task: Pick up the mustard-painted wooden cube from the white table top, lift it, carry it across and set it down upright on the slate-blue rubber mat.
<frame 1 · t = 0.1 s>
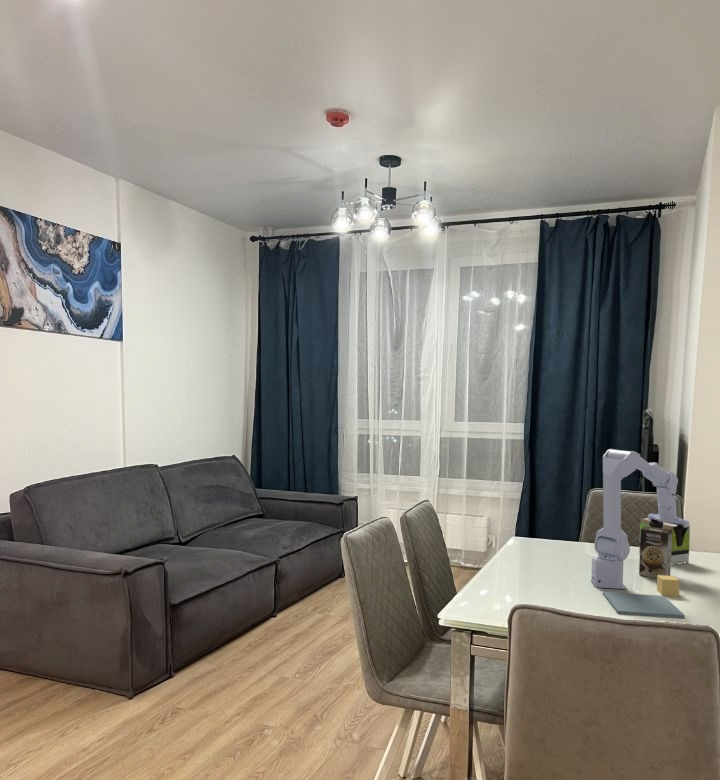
hand: (669, 543, 233), 11 cm above the table, tool pointing down, fingers open, 7 cm apart
slate mat: (641, 605, 196), on the table
coffee box: (654, 576, 229), on the table
mustard cube: (667, 593, 209), on the table
tea box: (663, 560, 253), on the table
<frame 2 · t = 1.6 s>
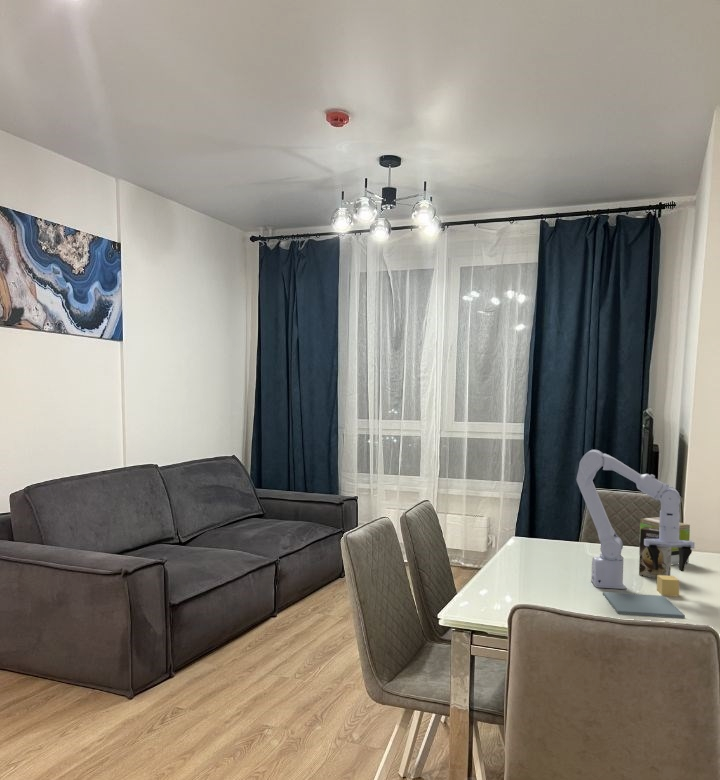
hand: (668, 569, 209), 7 cm above the table, tool pointing down, fingers open, 7 cm apart
nothing on the table moved.
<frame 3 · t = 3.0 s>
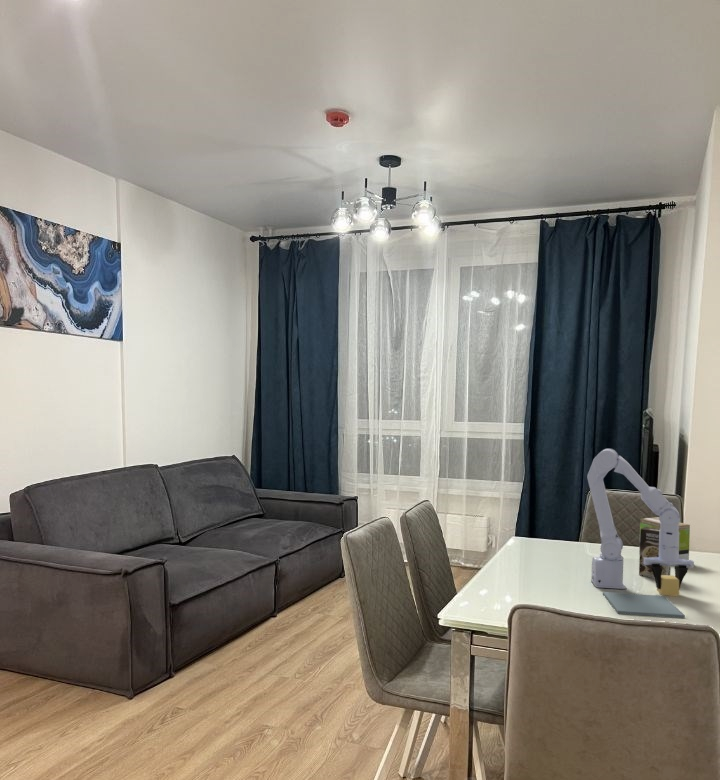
hand: (667, 588, 209), 1 cm above the table, tool pointing down, fingers closed on mustard cube, 5 cm apart
mustard cube: (667, 593, 209), on the table, touching gripper
everything else where it was.
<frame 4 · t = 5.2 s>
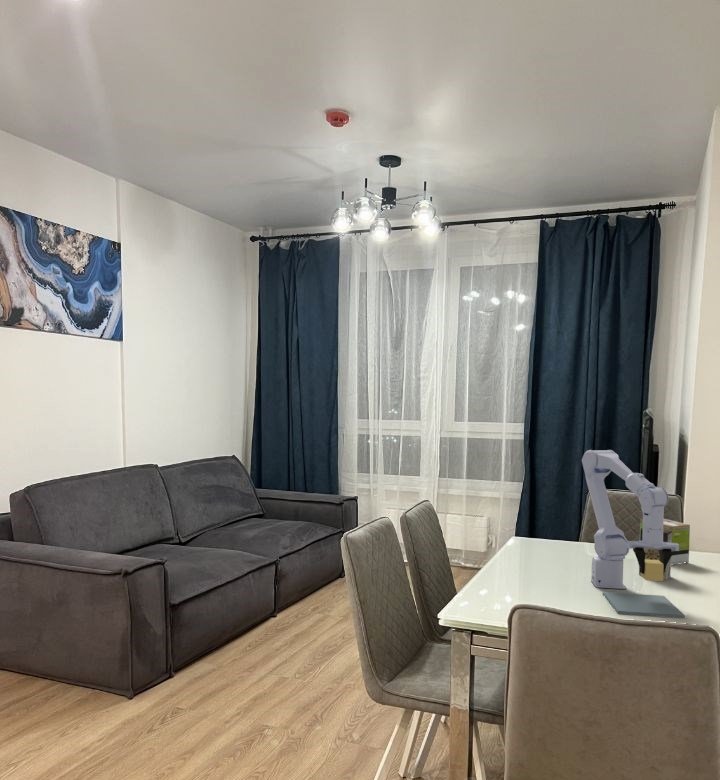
hand: (651, 573, 200), 8 cm above the table, tool pointing down, fingers closed on mustard cube, 5 cm apart
mustard cube: (651, 578, 200), point 7 cm above the table, touching gripper
everything else where it was.
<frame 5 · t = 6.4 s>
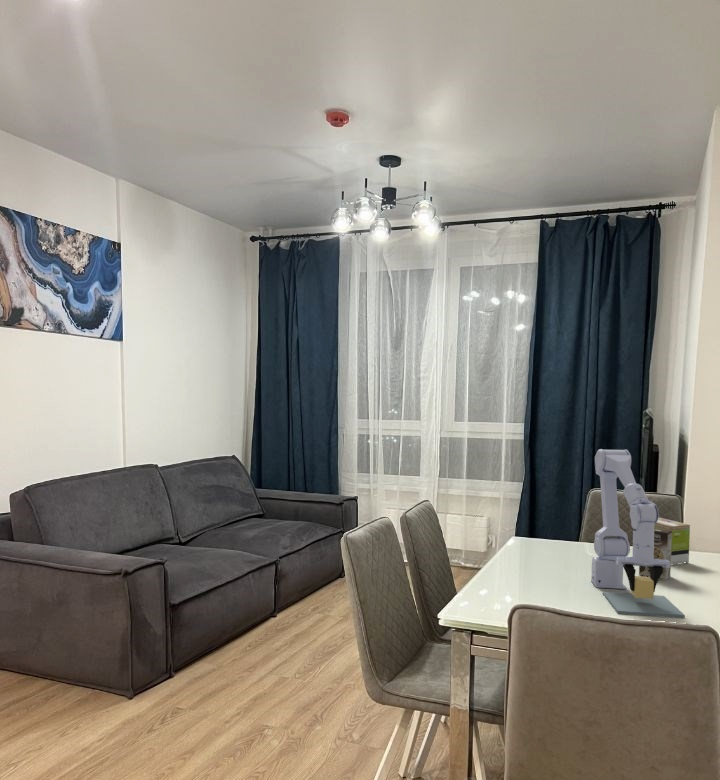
hand: (642, 590, 196), 4 cm above the table, tool pointing down, fingers closed on mustard cube, 5 cm apart
mustard cube: (642, 595, 196), point 3 cm above the table, touching gripper
everything else where it was.
when the fingers open (3 cm above the table, at t = 7.5 s): mustard cube drops 1 cm, resting on slate mat.
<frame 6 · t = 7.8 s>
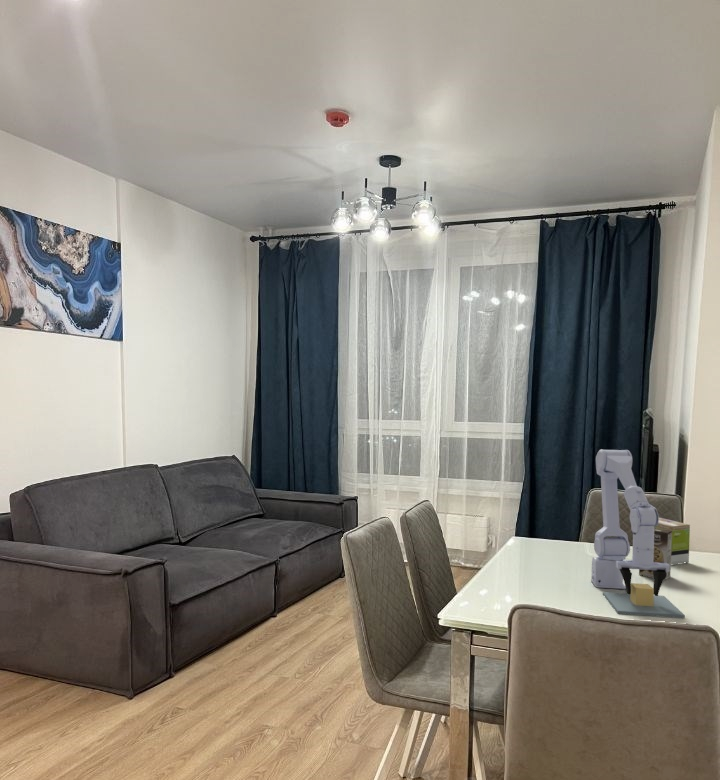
hand: (642, 594, 196), 3 cm above the table, tool pointing down, fingers open, 7 cm apart
mustard cube: (641, 603, 196), point 1 cm above the table, touching slate mat
everything else where it was.
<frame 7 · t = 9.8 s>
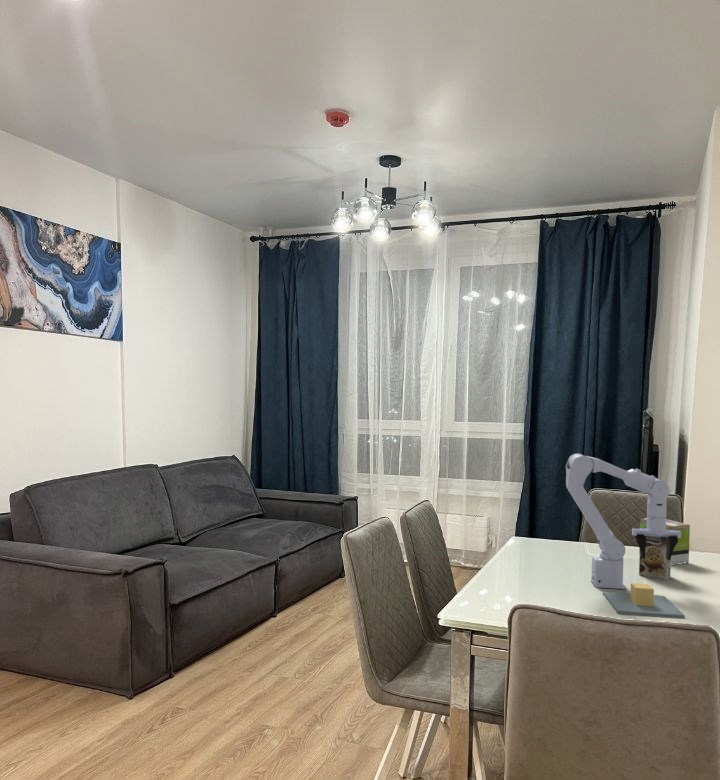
hand: (655, 558, 214), 9 cm above the table, tool pointing down, fingers open, 7 cm apart
nothing on the table moved.
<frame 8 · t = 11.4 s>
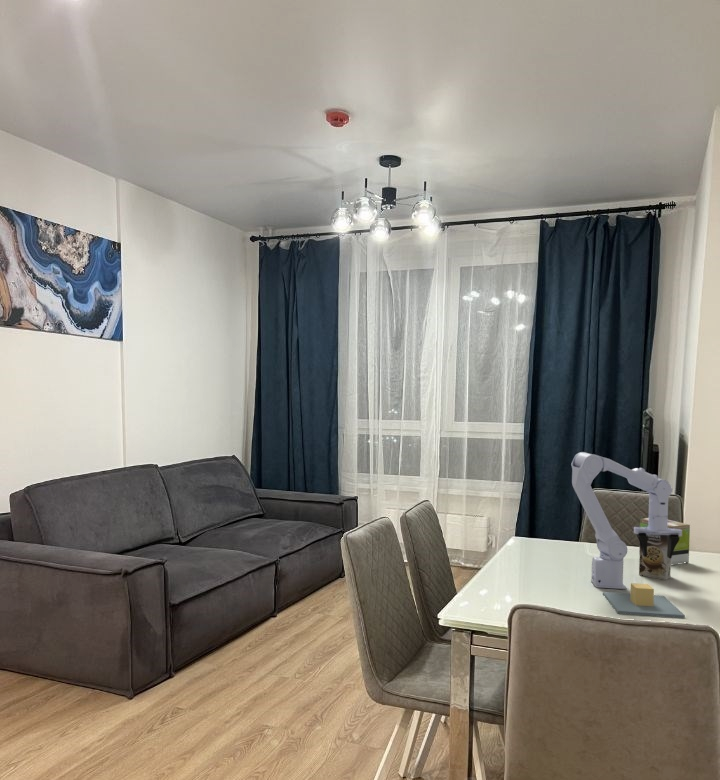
hand: (657, 556, 217), 9 cm above the table, tool pointing down, fingers open, 7 cm apart
nothing on the table moved.
at the end: mustard cube inside the target area on the slate mat (0.0 cm from its centre), point 0.8 cm above the slate mat's base; mustard cube tilted 0°; the gripper is holding nothing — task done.
